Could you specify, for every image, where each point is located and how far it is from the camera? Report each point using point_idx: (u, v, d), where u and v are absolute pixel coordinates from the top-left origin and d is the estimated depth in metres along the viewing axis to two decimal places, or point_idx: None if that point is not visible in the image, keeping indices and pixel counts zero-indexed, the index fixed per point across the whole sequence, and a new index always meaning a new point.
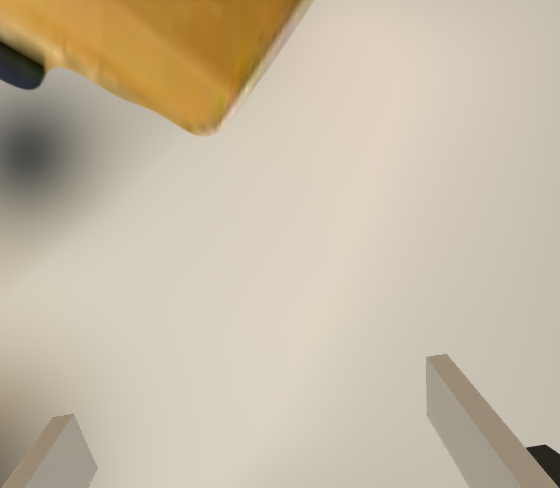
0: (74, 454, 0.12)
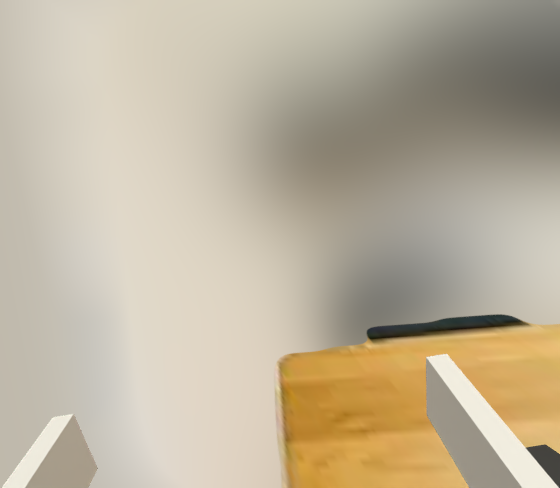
0: (74, 454, 0.12)
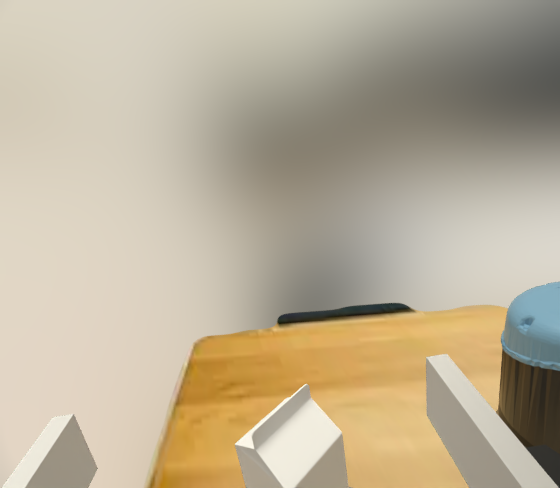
0: (74, 454, 0.12)
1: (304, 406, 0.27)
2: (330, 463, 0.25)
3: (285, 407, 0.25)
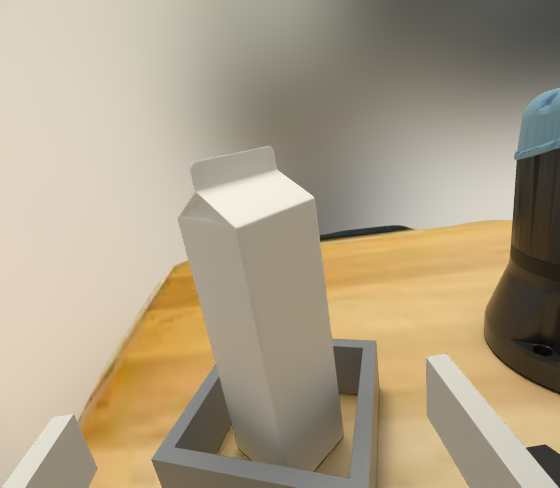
0: (74, 454, 0.12)
1: (267, 173, 0.21)
2: (298, 231, 0.19)
3: (240, 158, 0.19)
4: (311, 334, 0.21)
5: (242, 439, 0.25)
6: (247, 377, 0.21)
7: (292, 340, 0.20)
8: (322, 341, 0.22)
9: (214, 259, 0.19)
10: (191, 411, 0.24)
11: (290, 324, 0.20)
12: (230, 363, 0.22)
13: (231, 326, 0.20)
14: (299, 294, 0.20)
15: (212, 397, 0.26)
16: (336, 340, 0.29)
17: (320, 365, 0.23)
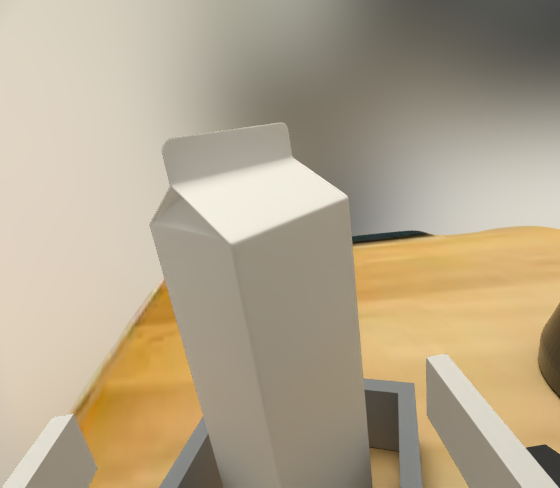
0: (74, 454, 0.12)
1: (279, 161, 0.14)
2: (325, 245, 0.13)
3: (240, 138, 0.13)
4: (339, 391, 0.15)
5: None
6: (247, 452, 0.15)
7: (313, 403, 0.14)
8: (352, 397, 0.16)
9: (200, 287, 0.12)
10: (171, 485, 0.18)
11: (310, 381, 0.14)
12: (223, 428, 0.16)
13: (225, 382, 0.14)
14: (325, 337, 0.14)
15: (201, 459, 0.20)
16: None
17: (349, 430, 0.16)
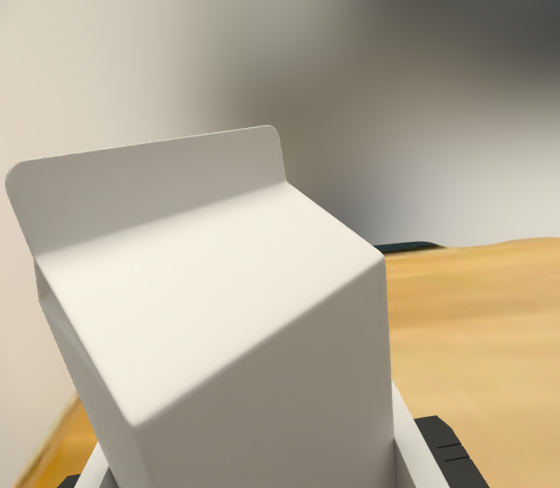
0: None
1: (264, 191, 0.09)
2: (347, 351, 0.07)
3: (190, 153, 0.07)
4: None
5: None
6: None
7: None
8: None
9: (110, 440, 0.07)
10: None
11: None
12: None
13: None
14: None
15: None
16: None
17: None
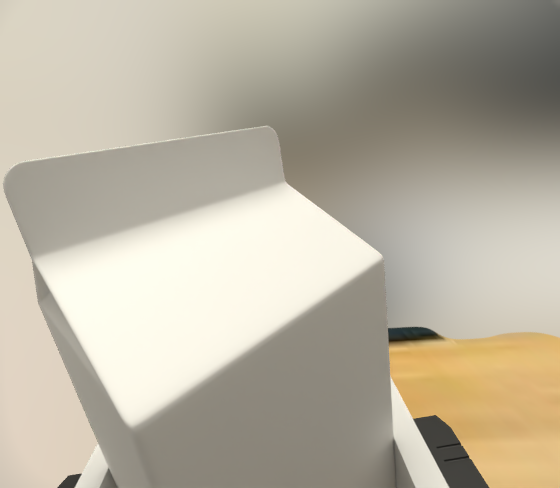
0: None
1: (263, 192, 0.09)
2: (347, 351, 0.07)
3: (189, 154, 0.07)
4: None
5: None
6: None
7: None
8: None
9: (109, 441, 0.07)
10: None
11: None
12: None
13: None
14: None
15: None
16: None
17: None
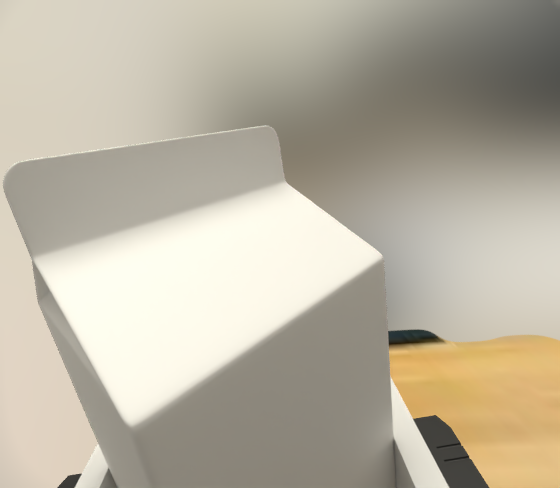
0: None
1: (263, 191, 0.09)
2: (346, 351, 0.07)
3: (189, 154, 0.07)
4: None
5: None
6: None
7: None
8: None
9: (109, 441, 0.07)
10: None
11: None
12: None
13: None
14: None
15: None
16: None
17: None
